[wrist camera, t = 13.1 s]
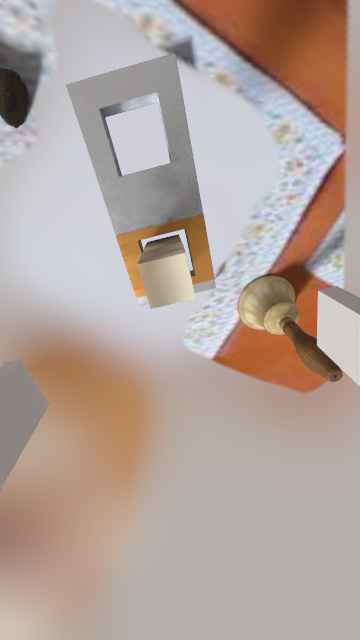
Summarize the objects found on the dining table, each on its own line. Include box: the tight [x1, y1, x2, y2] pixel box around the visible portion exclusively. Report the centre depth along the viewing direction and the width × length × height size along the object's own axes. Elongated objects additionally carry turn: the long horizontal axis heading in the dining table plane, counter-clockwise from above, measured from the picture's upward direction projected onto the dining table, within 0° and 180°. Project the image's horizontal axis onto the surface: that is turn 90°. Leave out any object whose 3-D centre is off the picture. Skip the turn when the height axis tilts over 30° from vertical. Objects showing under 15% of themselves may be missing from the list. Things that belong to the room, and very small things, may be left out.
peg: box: [137, 235, 195, 309], centre depth 26 cm, size 4×4×12 cm
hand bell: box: [238, 275, 343, 382], centre depth 28 cm, size 8×8×16 cm
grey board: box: [66, 53, 216, 306], centre depth 27 cm, size 10×22×3 cm, turn 13°
